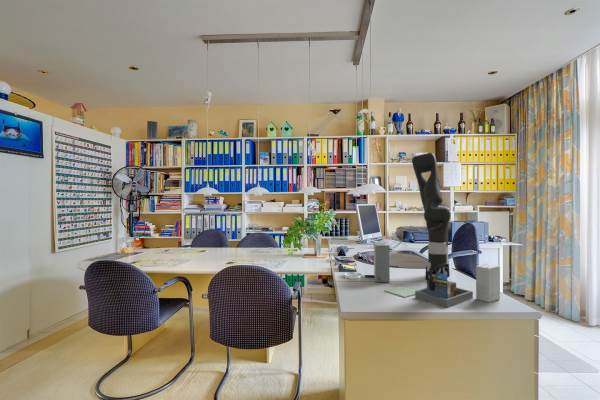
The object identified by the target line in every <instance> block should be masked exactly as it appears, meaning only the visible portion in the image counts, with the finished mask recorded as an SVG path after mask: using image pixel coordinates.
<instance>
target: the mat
mask: <svg viewBox="0 0 600 400" xmlns="http://www.w3.org/2000/svg"><path fill="white" fill-rule="evenodd" d="M383 291H384V292H386V293H389V294H392V295H395V296H398V297H401V298H408V297H409V298H410V297H413V296H415V291H417V290H416V289H413V288H409V287H406V286H401V285H398V286H395V287H390V288H387V289H384V290H383Z"/></svg>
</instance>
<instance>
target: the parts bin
mask: <svg viewBox="0 0 600 400" xmlns="http://www.w3.org/2000/svg"><path fill="white" fill-rule="evenodd" d="M473 294H474V292H473V290H469V289H464V288H460V287H457V286H456V296H454V297H451V298H448V299H444V298H441V297H437V296H434V295H430V294H427V287H424V288H421V289H417V290H416V291H415V295H414V296H415V299H419V300H422V301H426V302H429V303H432V304H434V305H438V306H441V307H444V308H450V307H453V306H456V305H458V304H461V303H464V302H466V301H469V300H471V299H473V298H474V296H473Z"/></svg>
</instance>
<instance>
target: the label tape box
mask: <svg viewBox="0 0 600 400" xmlns="http://www.w3.org/2000/svg"><path fill="white" fill-rule="evenodd" d="M432 275H433V273H432ZM438 276H440V277H437V278H436V279H435V291H431V290H430V289H429V281H427V280H426V288H427V294H430V295H434V296H437V297H441V298H444V299H448V298H450V282H449V281H450V280H448V278H447V274H441V273H439V275H438ZM428 278H429V275H428ZM432 279H433V277H432Z"/></svg>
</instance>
